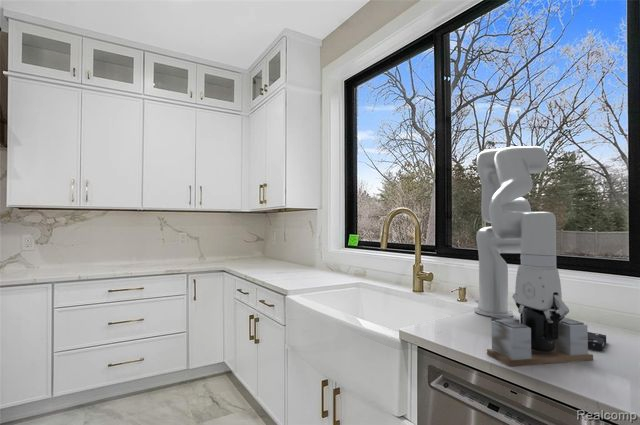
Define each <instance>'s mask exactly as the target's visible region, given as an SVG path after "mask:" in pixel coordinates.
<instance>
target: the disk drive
mask: <svg viewBox="0 0 640 425" xmlns="http://www.w3.org/2000/svg"><path fill="white" fill-rule="evenodd" d="M606 344H607V335H606V334H601V333H596V332H591V331H588V350H590V351H597V352H603V351H604V349H605V346H606Z"/></svg>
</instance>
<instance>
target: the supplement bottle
mask: <svg viewBox="0 0 640 425" xmlns="http://www.w3.org/2000/svg"><path fill="white" fill-rule="evenodd" d="M550 314H551V317H552V316H553V314H552V312H550ZM545 322H547V319H546V317H545V314H544V311H540V310H536V309H533V308H529V307H526V308H524V309H523V313H522V324H523V325H526V326H527V327H529V328H531V349H533V350H537V351H545V352H548V351H553V350H554V348H555V340H547V339H545Z"/></svg>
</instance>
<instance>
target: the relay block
mask: <svg viewBox="0 0 640 425" xmlns="http://www.w3.org/2000/svg"><path fill="white" fill-rule="evenodd" d="M503 319H510V320H512V321H515V322H518V323H520V319H519V318H515V317H512V316H511V317H507V316H502V315H496V316H491V322H492V321H495V320H503Z"/></svg>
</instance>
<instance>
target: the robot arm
mask: <svg viewBox="0 0 640 425" xmlns="http://www.w3.org/2000/svg"><path fill="white" fill-rule="evenodd" d="M548 163H549V161H548V154H547V152H546V150H545V149H544V148H542V147H541V146H536V145H534V146H533V145H530V146H529V145H527V146H508V147H504V148H492V149H485V150H482V151H480V152H479V153H478V154H477V157H476V170H477V174H478V176H479V180H480V182H481V183H480V184H481V208H480V209H481V210H480V211H481V219H482V220H483V221H484V222H485V223H489V224H490V225H491V226H485V227H482V228H480V229H478V231H476V236H475V238H476V245H477V251H478V252H477V253H478V254H477V255H478V284H479V285H478V289H479V290H478V298H475V299H474V302H475V303H476V304H477V306H475V307H474V312H475V313H477V314H478V315H481V316H485V317H486V316H487V317H492V316H496V315H502V316H507V317H511V318H512V317H513V316H514V312H513V311H512V310H510V309H509V267H508V264H507V262H506V261H505V259H504V258H503V257H502V256H501V254H520V257H519V259H520V264H519V265H518V267H517V272H516V277H515V287H514V289H515V291H514V293H513V294H512V299H513V301H514V302H515V305H516V307H517V309H518V310H517V312H518V314H520V316H519V317H520V319H519V323H521V324H522V313H523V309H524V308H526V307H529V308H533V309H536V310H540V311H544V314H545V317H546V319H547V322H545V339H547V340H556V339H558V323H560V322H561V320H562V319H563V318H564V317H566V315H568V314H569V312H570V309H569V306H568V305H566V304H565V302H564V301H563V299H562V297H563V296H562V284H561V283H562V282H561V278H560V273H559V270H558V268H557V220H556V215H555V214H554V213H553V212H551V211H532V208H531V204H530V202H529V201H528V199H527V198H524V196H526V195H528V194H529V193H530V192H531V191H532V189H533V186H534V183H533V179H532V176H531V174H541V173H543V172H544V171H545V170H547V167H548ZM550 312H552V314H553V316H552V317H551V314H550Z"/></svg>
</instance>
